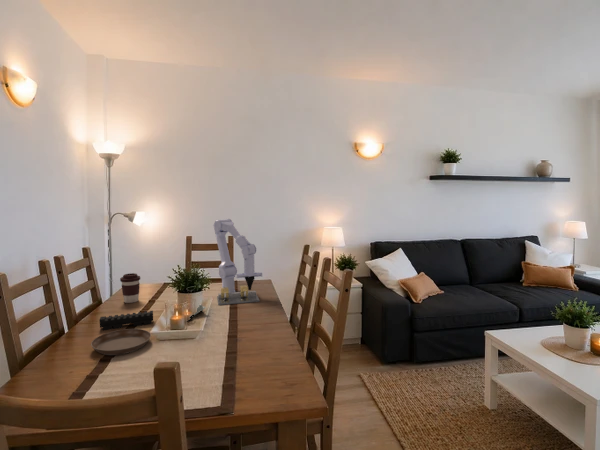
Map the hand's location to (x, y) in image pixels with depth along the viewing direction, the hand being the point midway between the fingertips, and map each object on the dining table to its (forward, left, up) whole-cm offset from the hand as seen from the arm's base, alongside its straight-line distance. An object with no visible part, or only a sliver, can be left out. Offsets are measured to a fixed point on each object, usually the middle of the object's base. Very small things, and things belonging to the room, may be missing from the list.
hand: (249, 289), depth 200 cm
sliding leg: (+2, -3, -3) cm, 5 cm away
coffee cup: (-11, -64, -5) cm, 65 cm away
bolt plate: (+3, -7, -5) cm, 9 cm away
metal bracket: (+21, -32, -5) cm, 39 cm away
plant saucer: (+52, -56, -5) cm, 76 cm away
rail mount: (+28, -58, -5) cm, 65 cm away
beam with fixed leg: (+2, -7, -4) cm, 8 cm away
